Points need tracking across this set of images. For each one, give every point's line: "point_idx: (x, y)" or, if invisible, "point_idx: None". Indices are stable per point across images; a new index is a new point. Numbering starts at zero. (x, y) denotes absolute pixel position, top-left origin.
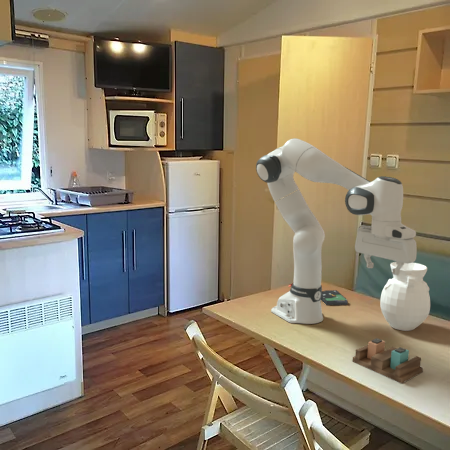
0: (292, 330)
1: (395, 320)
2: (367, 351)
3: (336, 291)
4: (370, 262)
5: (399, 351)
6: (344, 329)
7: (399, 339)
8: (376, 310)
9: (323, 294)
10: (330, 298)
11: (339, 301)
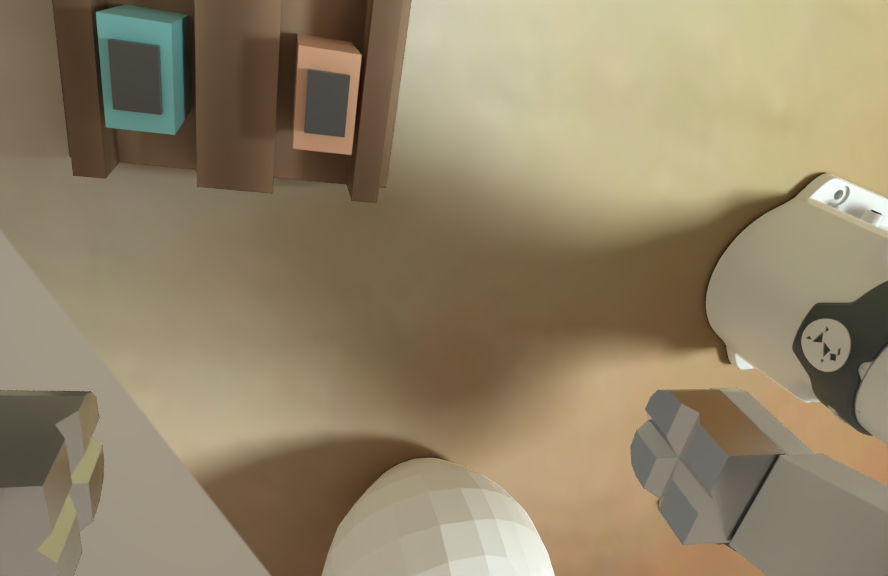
0: (793, 105)
1: (425, 471)
2: (363, 64)
3: None
4: (745, 514)
5: (119, 41)
6: (593, 299)
7: (362, 385)
8: (557, 535)
9: None
10: None
11: None
